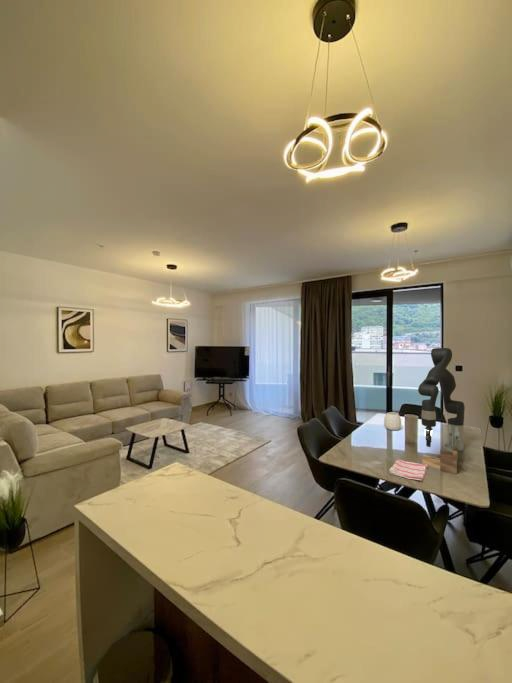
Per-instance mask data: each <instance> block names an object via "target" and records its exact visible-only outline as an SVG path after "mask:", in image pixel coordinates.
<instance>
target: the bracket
mask: <svg viewBox="0 0 512 683" xmlns="http://www.w3.org/2000/svg"><path fill="white" fill-rule="evenodd" d="M454 430H455V431H454V444H455V446H456V447H457V462H458V461H459V459H458V458H459V456H458V455H459V454H458V453H459V451H458V445H459V432H458V427H455V429H454ZM448 439H449V440H448ZM448 443H449V445H448ZM444 450H447V451H453V450H452V432H451V425H448V424H447V444H444Z"/></svg>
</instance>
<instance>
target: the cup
mask: <svg viewBox="0 0 512 683" xmlns="http://www.w3.org/2000/svg"><path fill="white" fill-rule="evenodd" d="M383 425H384V427H385V428H386V429H387V430H390V431H398V430H400V429H401V428H402V418H401V416H400V414H399V413H398V412H393V411H391V412H386V414H385V416H384V419H383Z"/></svg>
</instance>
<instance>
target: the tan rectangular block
mask: <svg viewBox="0 0 512 683" xmlns="http://www.w3.org/2000/svg"><path fill="white" fill-rule="evenodd" d="M421 464H423V465H428V468H434V469H438V470H440V457H435V456H429V455H425V454H423V455H422V457H421Z"/></svg>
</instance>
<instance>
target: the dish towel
mask: <svg viewBox="0 0 512 683" xmlns="http://www.w3.org/2000/svg"><path fill="white" fill-rule="evenodd" d="M428 468H429V466H428V465H423V464H422V463H418V462H412V461H406V460H402V459H400V458H399V459H396V460H395V462H394V463H393V465H392V466H391V467H390V468H389V470H388V471H389V473H390V475H393V476H396V477H400V478H405V479H409V480H414V481H418V482H421V483H422V482H423V480H424V479H425V478H426V477H425V476H426V475H427V472H428Z"/></svg>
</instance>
